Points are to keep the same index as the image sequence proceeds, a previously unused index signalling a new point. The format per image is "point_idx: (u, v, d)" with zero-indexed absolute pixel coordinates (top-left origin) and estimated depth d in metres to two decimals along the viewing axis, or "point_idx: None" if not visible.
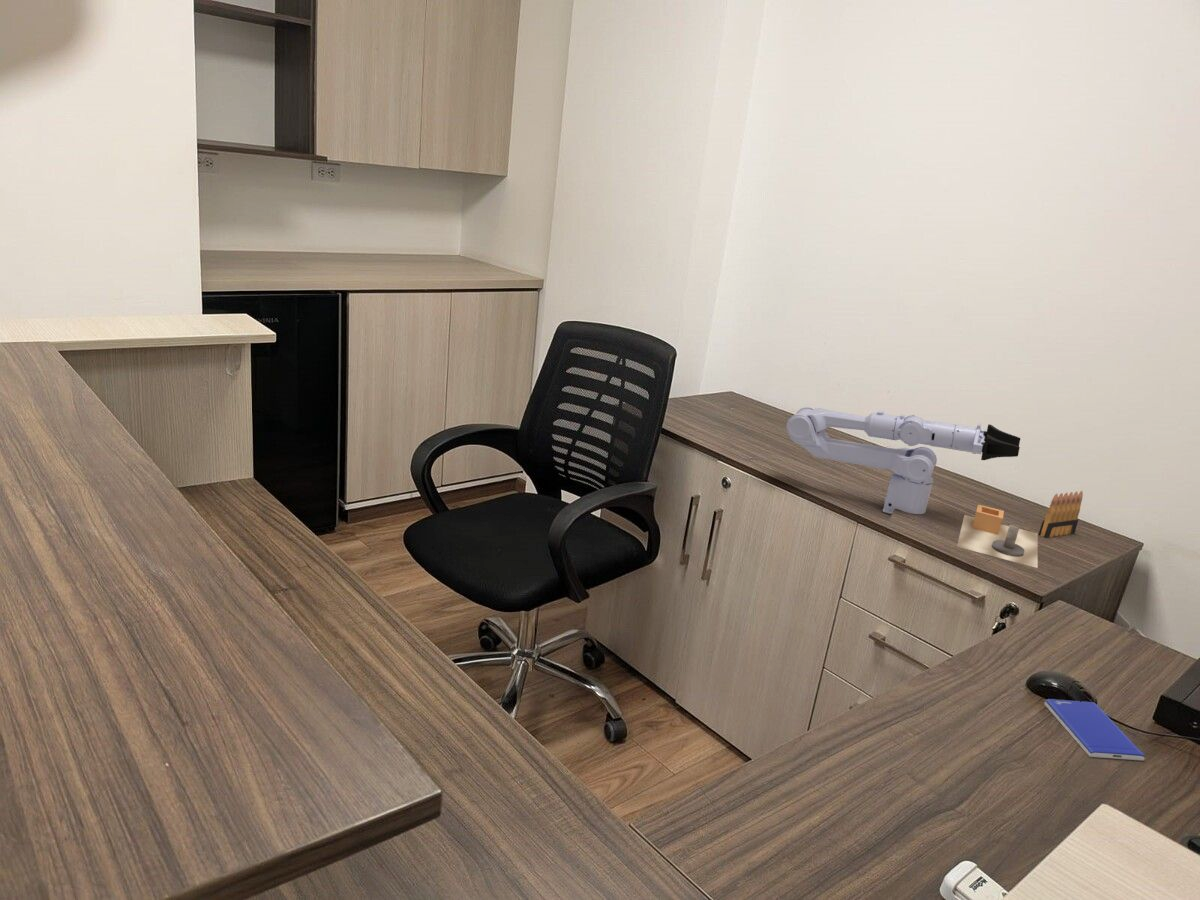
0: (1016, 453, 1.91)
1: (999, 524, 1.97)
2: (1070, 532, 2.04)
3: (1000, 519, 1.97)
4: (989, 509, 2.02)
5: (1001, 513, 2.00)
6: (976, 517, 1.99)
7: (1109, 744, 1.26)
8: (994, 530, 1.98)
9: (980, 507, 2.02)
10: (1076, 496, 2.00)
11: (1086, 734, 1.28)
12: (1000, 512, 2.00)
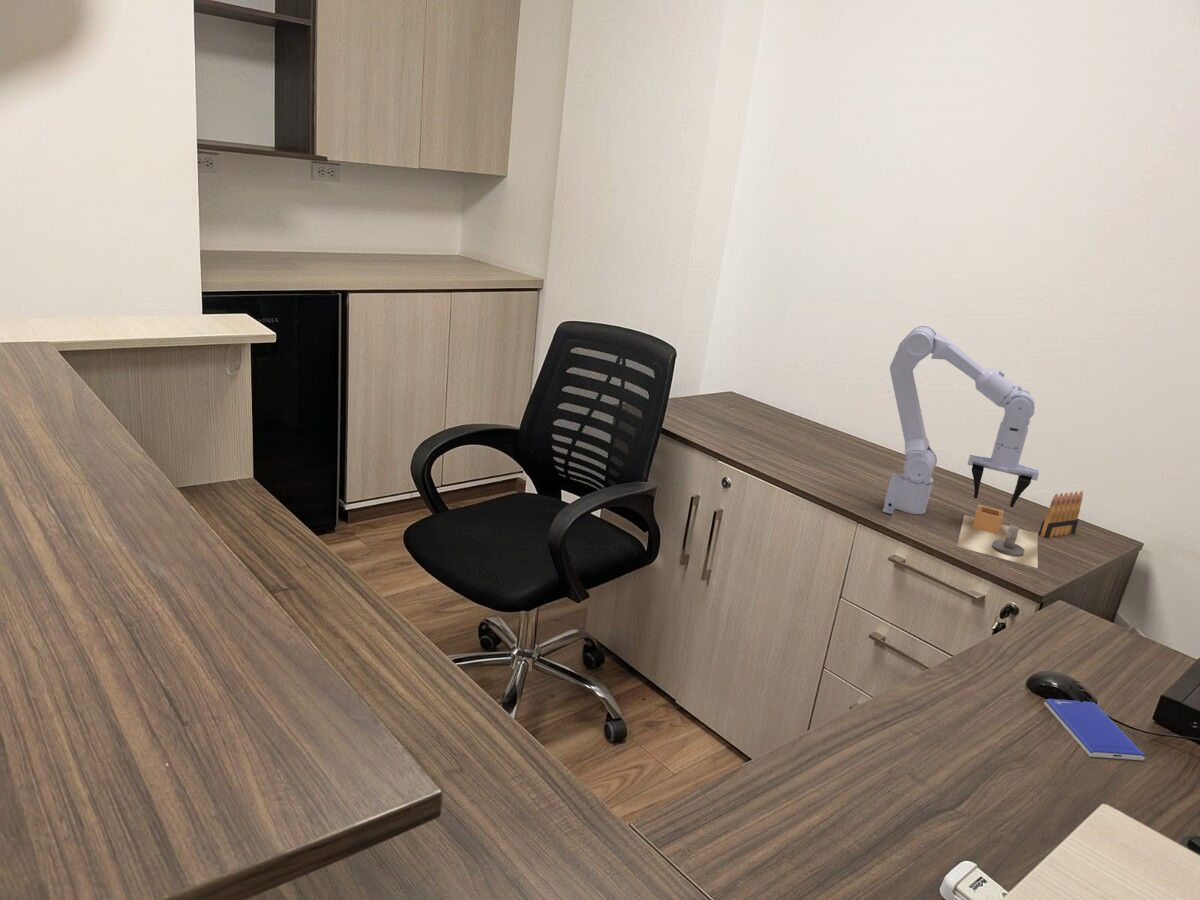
0: None
1: (999, 524, 1.97)
2: (1070, 532, 2.04)
3: (1000, 519, 1.97)
4: (989, 509, 2.02)
5: (1001, 513, 2.00)
6: (976, 517, 1.99)
7: (1109, 744, 1.26)
8: (994, 530, 1.98)
9: (980, 507, 2.02)
10: (1076, 496, 2.00)
11: (1087, 734, 1.28)
12: (1000, 512, 2.00)
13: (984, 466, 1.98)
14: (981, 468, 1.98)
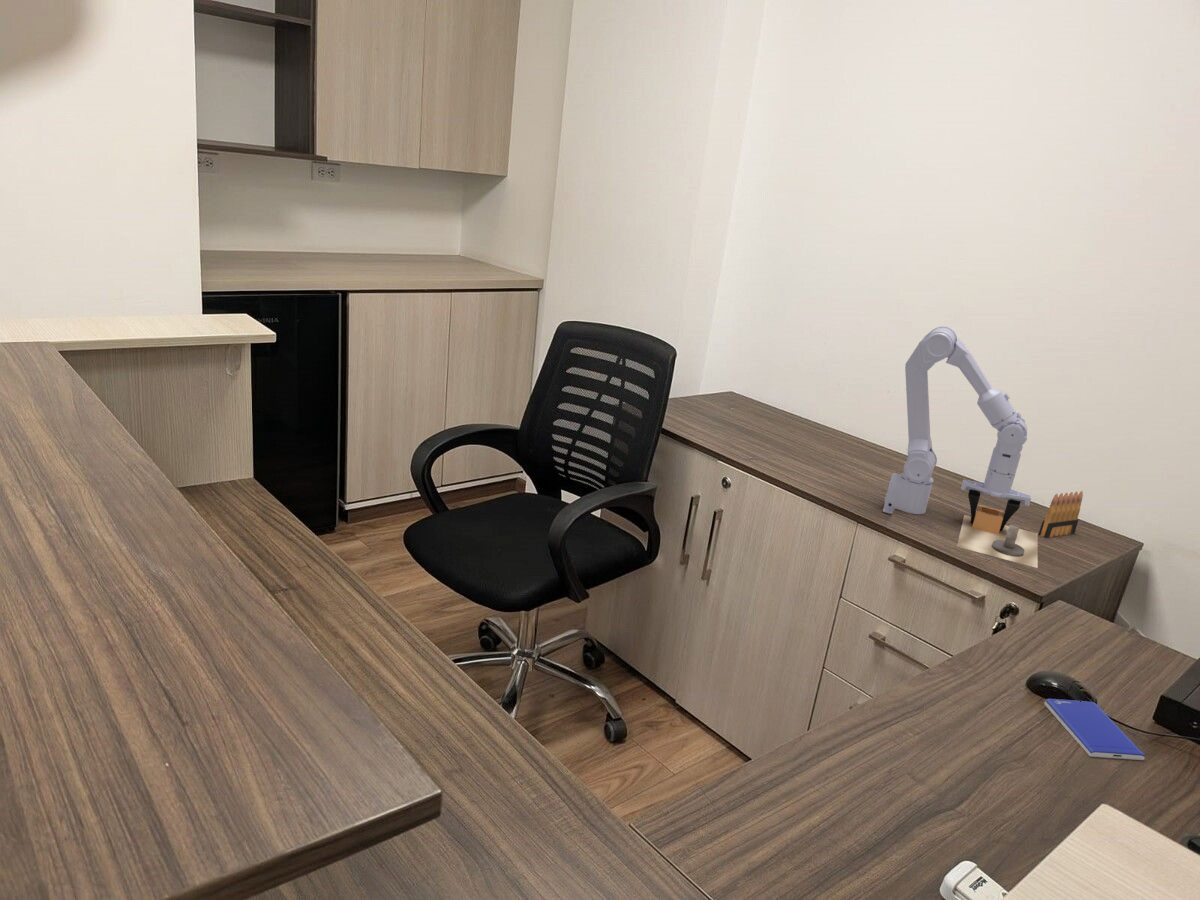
0: None
1: (999, 524, 1.97)
2: (1070, 532, 2.04)
3: (1000, 519, 1.97)
4: (989, 509, 2.02)
5: (1001, 513, 2.00)
6: (976, 517, 1.99)
7: (1109, 744, 1.26)
8: (994, 530, 1.98)
9: (980, 507, 2.02)
10: (1076, 496, 2.00)
11: (1086, 734, 1.28)
12: (1000, 512, 2.00)
13: (980, 492, 2.00)
14: (977, 494, 1.99)
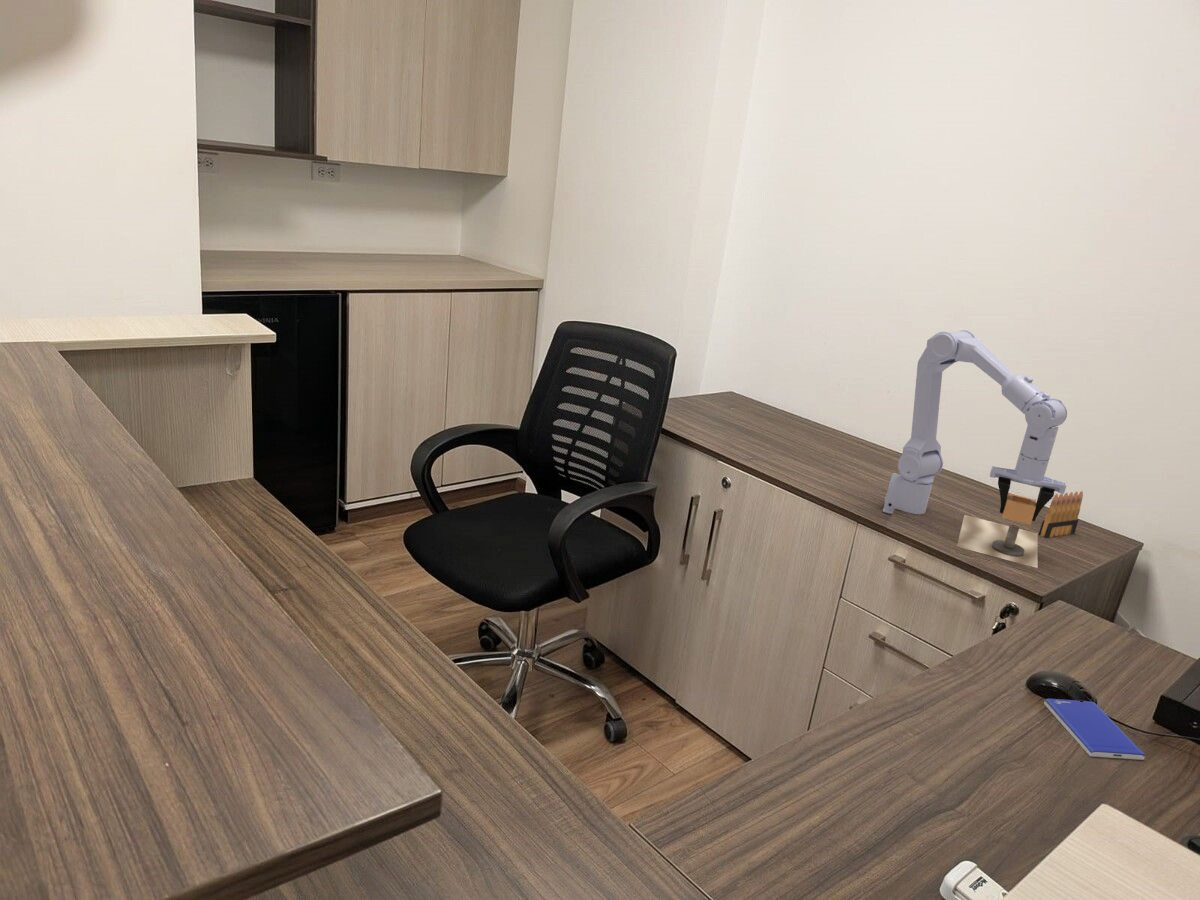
0: None
1: (1032, 513, 1.84)
2: (1070, 532, 2.04)
3: (1033, 508, 1.83)
4: (1020, 498, 1.88)
5: (1033, 502, 1.86)
6: (1007, 506, 1.86)
7: (1109, 744, 1.26)
8: (1026, 520, 1.85)
9: (1010, 496, 1.88)
10: (1076, 496, 2.00)
11: (1087, 734, 1.28)
12: (1032, 501, 1.87)
13: (1011, 479, 1.86)
14: (1008, 481, 1.86)
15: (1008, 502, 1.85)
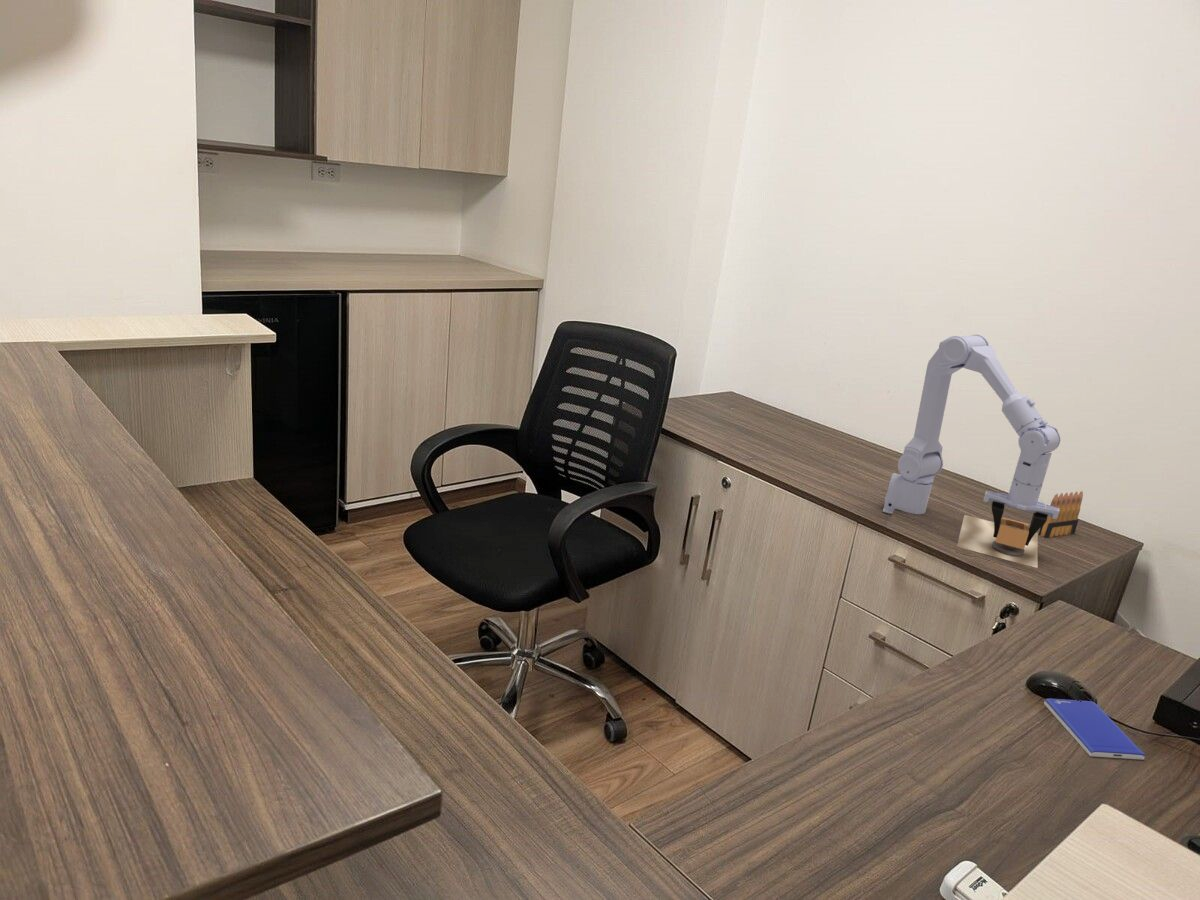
0: None
1: (1025, 538, 1.85)
2: (1070, 532, 2.04)
3: (1026, 533, 1.85)
4: (1013, 522, 1.90)
5: (1026, 526, 1.88)
6: (1000, 531, 1.87)
7: (1109, 744, 1.26)
8: (1019, 545, 1.86)
9: (1003, 520, 1.90)
10: (1076, 496, 2.00)
11: (1087, 734, 1.28)
12: (1025, 525, 1.88)
13: (1005, 504, 1.88)
14: (1001, 506, 1.87)
15: (1001, 527, 1.87)
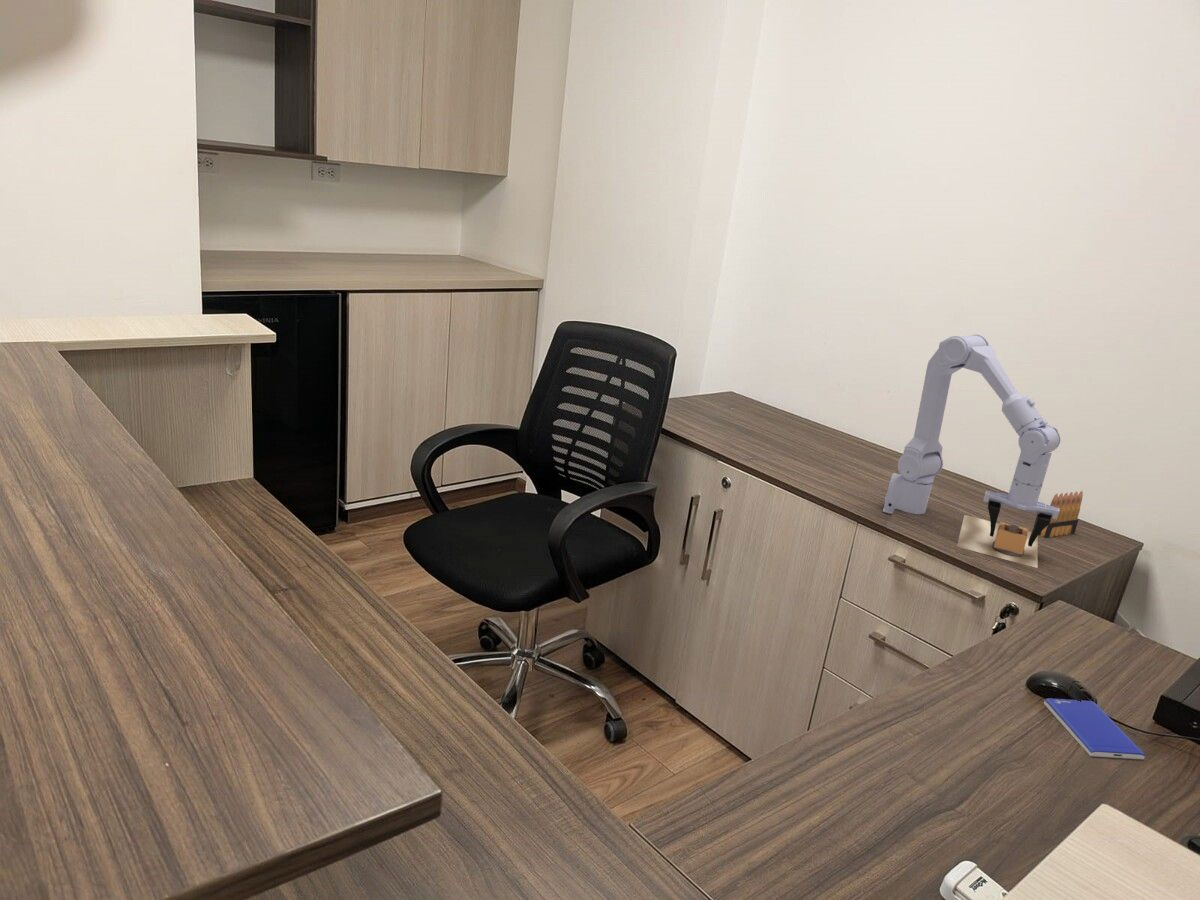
0: None
1: (1023, 543, 1.86)
2: (1070, 532, 2.04)
3: (1024, 538, 1.85)
4: None
5: (1025, 531, 1.88)
6: (999, 536, 1.87)
7: (1109, 744, 1.26)
8: (1018, 550, 1.86)
9: (1002, 525, 1.90)
10: (1076, 496, 2.00)
11: (1087, 733, 1.28)
12: (1024, 530, 1.89)
13: (1001, 503, 1.88)
14: (998, 505, 1.88)
15: (1000, 532, 1.87)
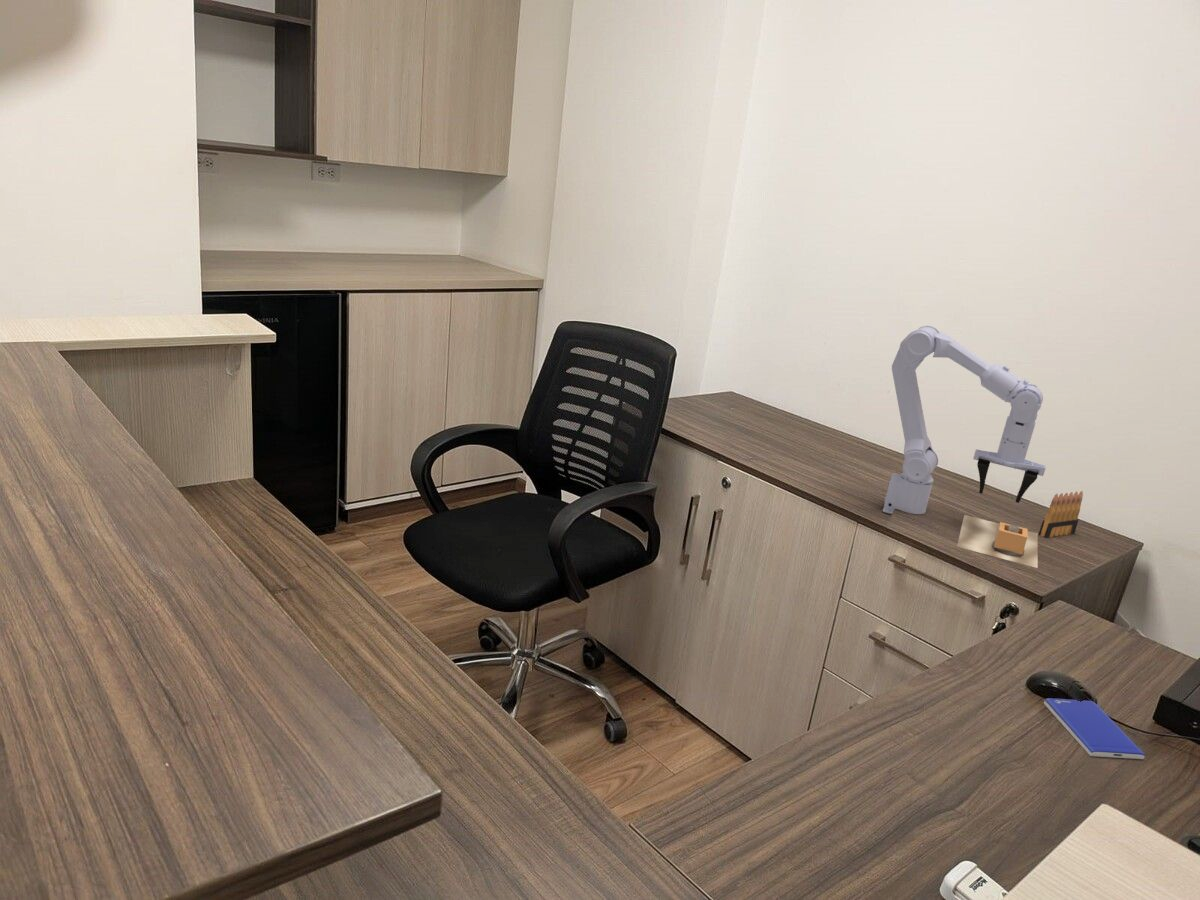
0: None
1: (1023, 543, 1.86)
2: (1070, 532, 2.04)
3: (1024, 538, 1.85)
4: None
5: (1025, 531, 1.88)
6: (999, 536, 1.87)
7: (1109, 743, 1.26)
8: (1018, 550, 1.86)
9: (1002, 525, 1.90)
10: (1076, 496, 2.00)
11: (1087, 733, 1.28)
12: (1024, 530, 1.89)
13: (990, 461, 1.96)
14: (987, 463, 1.96)
15: (1000, 532, 1.87)
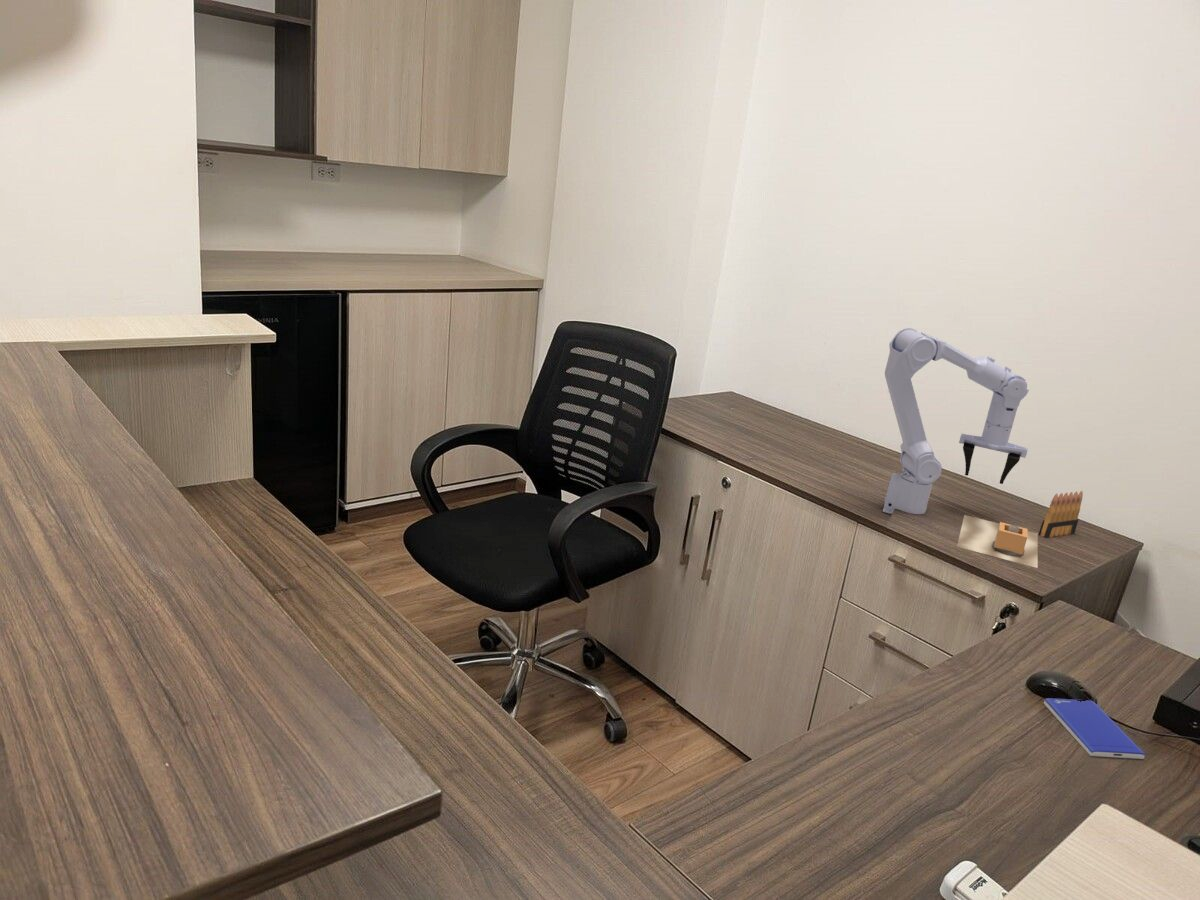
0: None
1: (1023, 543, 1.86)
2: (1070, 532, 2.04)
3: (1024, 538, 1.85)
4: None
5: (1025, 531, 1.88)
6: (999, 536, 1.87)
7: (1109, 743, 1.26)
8: (1018, 550, 1.86)
9: (1002, 525, 1.90)
10: (1076, 496, 2.00)
11: (1087, 733, 1.28)
12: (1024, 530, 1.89)
13: (975, 444, 2.05)
14: (972, 446, 2.05)
15: (1000, 532, 1.87)
